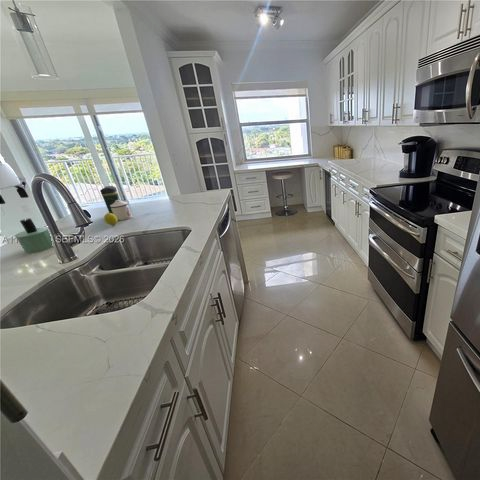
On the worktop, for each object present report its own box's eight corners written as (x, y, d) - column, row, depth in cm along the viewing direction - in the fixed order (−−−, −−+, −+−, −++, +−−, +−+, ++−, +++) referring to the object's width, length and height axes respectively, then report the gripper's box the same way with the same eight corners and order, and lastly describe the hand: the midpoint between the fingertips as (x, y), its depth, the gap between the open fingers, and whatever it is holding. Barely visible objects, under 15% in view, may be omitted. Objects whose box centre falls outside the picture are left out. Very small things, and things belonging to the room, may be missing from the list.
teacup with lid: (133, 218, 160) (126, 200, 155) (115, 221, 155) (107, 203, 150) (132, 213, 169) (125, 196, 164) (115, 216, 164) (108, 199, 159)
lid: (11, 241, 114) (1, 226, 111) (22, 232, 124) (13, 219, 120) (45, 234, 119) (37, 220, 116) (53, 227, 129) (46, 213, 125)
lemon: (110, 224, 151) (104, 212, 147) (120, 223, 152) (115, 210, 149) (106, 228, 146) (100, 215, 143) (117, 226, 147) (111, 213, 144)
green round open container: (21, 256, 118) (11, 239, 114) (31, 247, 127) (21, 231, 123) (53, 249, 123) (44, 233, 119) (60, 241, 132) (51, 226, 128)
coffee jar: (124, 215, 166) (113, 187, 158) (109, 218, 163) (97, 189, 155) (126, 211, 174) (116, 184, 166) (112, 213, 171) (101, 186, 163)
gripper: (4, 158, 115) (25, 195, 122) (-45, 165, 99) (-18, 207, 107) (20, 157, 115) (40, 194, 122) (-27, 163, 99) (0, 206, 106)
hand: (13, 200), depth 114 cm, fingers open, 9 cm apart
